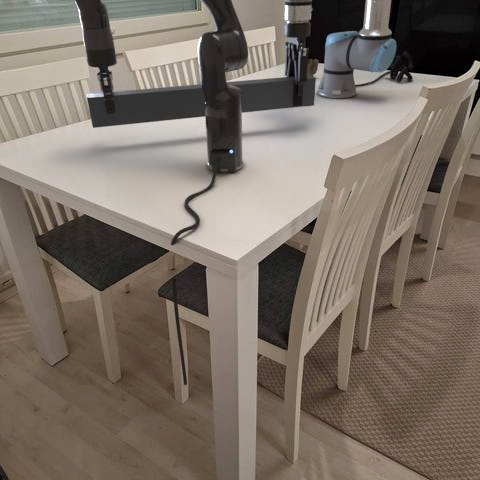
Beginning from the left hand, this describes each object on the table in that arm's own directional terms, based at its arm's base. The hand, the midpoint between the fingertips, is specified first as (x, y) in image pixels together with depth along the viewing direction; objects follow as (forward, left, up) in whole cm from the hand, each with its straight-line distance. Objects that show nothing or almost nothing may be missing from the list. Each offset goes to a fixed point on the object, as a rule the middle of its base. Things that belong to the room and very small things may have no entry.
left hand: (111, 110), depth 127 cm
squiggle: (+86, -104, -11) cm, 136 cm away
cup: (+91, -64, -11) cm, 112 cm away
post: (+9, -27, -4) cm, 28 cm away
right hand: (+18, -53, -3) cm, 56 cm away
